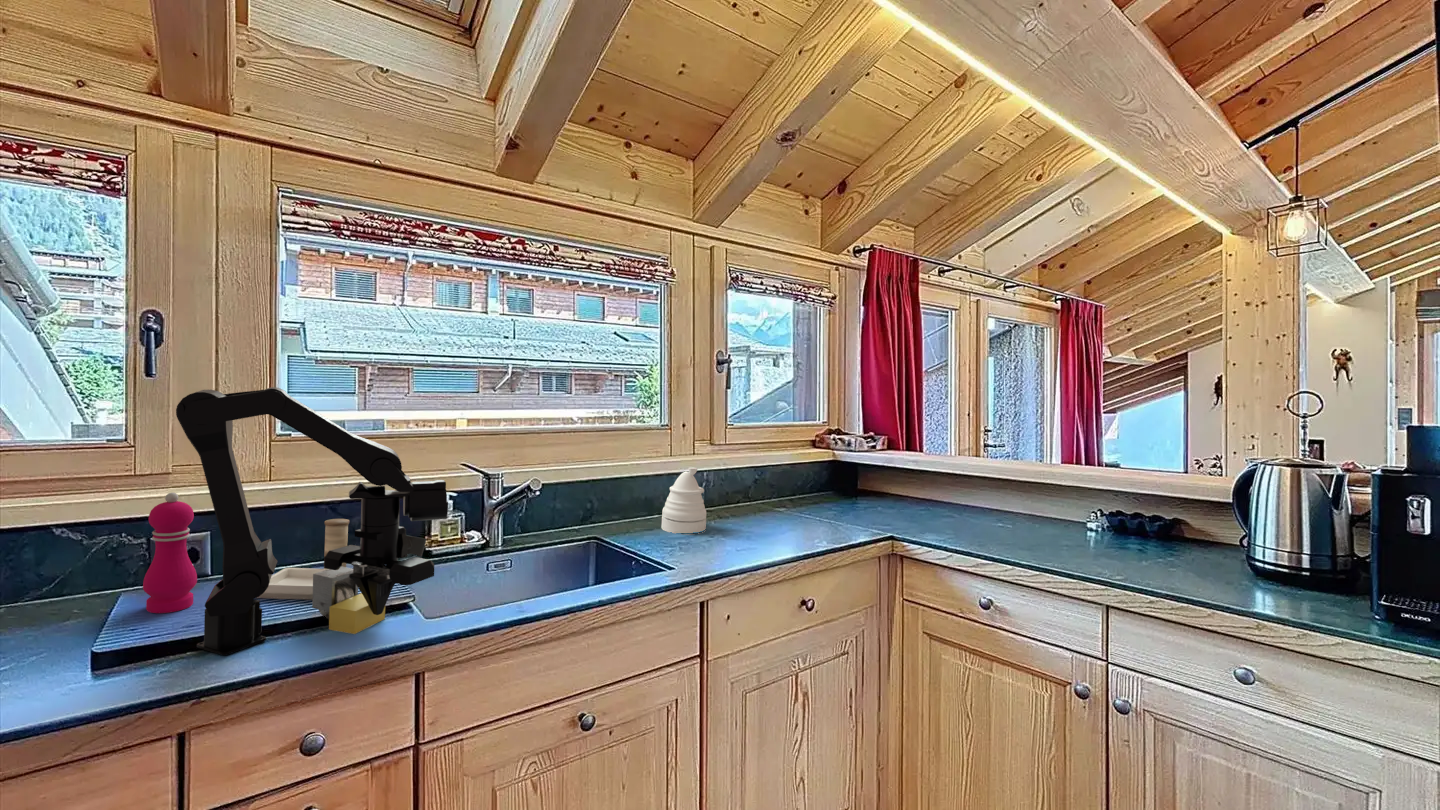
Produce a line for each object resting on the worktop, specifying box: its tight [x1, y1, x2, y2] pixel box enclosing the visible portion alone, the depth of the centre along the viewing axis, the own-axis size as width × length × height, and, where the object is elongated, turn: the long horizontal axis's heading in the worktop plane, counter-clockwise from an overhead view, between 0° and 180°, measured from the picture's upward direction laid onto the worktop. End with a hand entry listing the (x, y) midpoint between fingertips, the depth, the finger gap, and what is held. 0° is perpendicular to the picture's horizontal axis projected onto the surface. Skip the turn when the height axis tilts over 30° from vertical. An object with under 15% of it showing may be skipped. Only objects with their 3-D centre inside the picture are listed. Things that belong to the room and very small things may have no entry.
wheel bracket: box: [311, 566, 359, 620], centre depth 116 cm, size 5×6×8 cm
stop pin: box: [323, 518, 350, 569], centre depth 136 cm, size 4×4×11 cm
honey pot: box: [661, 466, 707, 534], centre depth 193 cm, size 13×13×18 cm
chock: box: [328, 592, 386, 635], centre depth 113 cm, size 7×5×4 cm
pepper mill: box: [142, 492, 198, 614], centre depth 115 cm, size 7×7×20 cm
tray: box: [256, 567, 328, 600], centre depth 127 cm, size 10×12×2 cm
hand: (377, 614), depth 112 cm, fingers closed
